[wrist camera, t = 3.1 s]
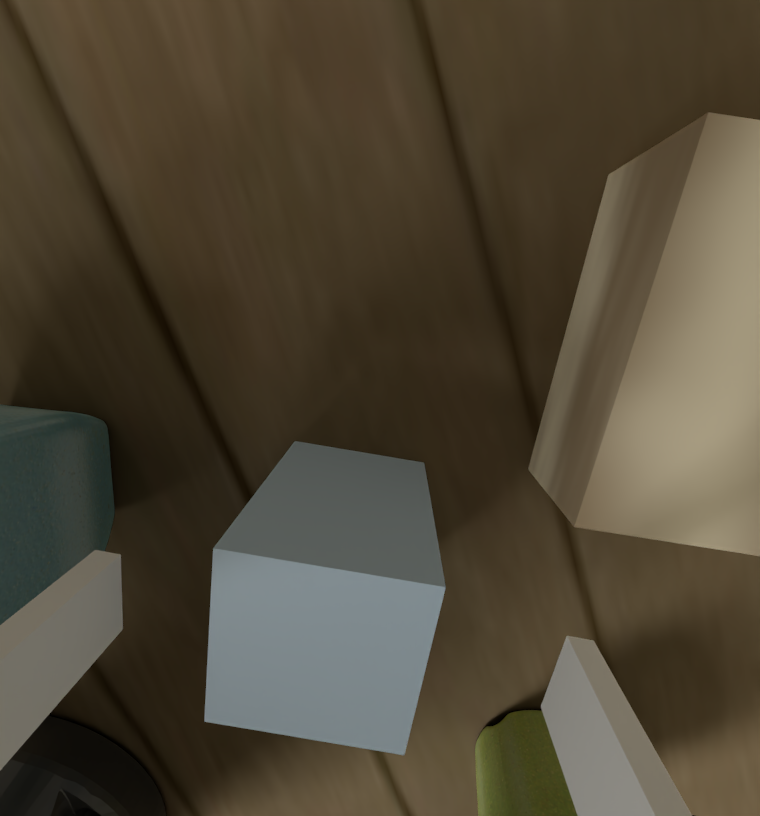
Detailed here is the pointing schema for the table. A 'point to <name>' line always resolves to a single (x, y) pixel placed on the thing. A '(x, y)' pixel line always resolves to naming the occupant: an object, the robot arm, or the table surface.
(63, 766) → the robot arm
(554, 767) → the plant pot
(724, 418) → the birch block
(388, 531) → the slate blue block
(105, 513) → the flower pot
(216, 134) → the table surface
